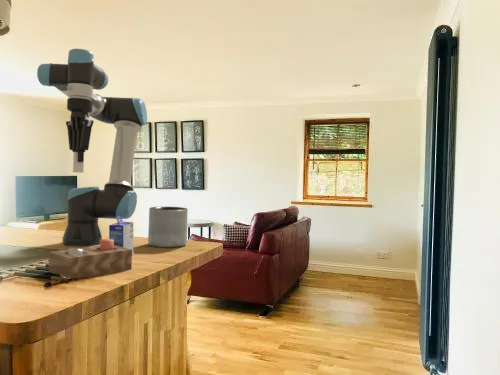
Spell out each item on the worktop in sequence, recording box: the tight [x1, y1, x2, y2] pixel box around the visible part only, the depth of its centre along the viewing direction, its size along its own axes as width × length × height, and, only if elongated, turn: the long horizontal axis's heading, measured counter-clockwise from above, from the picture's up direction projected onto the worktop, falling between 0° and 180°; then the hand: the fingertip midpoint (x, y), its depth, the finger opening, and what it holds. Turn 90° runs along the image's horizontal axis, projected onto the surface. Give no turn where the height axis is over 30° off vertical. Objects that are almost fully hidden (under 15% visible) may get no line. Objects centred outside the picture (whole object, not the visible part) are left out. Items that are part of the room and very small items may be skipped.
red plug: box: [99, 238, 114, 251], centre depth 126 cm, size 4×4×6 cm
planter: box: [147, 206, 188, 249], centre depth 171 cm, size 16×16×16 cm
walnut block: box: [48, 245, 133, 280], centre depth 123 cm, size 20×12×6 cm, turn 141°
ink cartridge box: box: [108, 216, 134, 257], centre depth 142 cm, size 10×6×14 cm, turn 176°
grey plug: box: [67, 247, 84, 255], centre depth 119 cm, size 4×4×6 cm
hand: (78, 172), depth 132 cm, fingers closed
